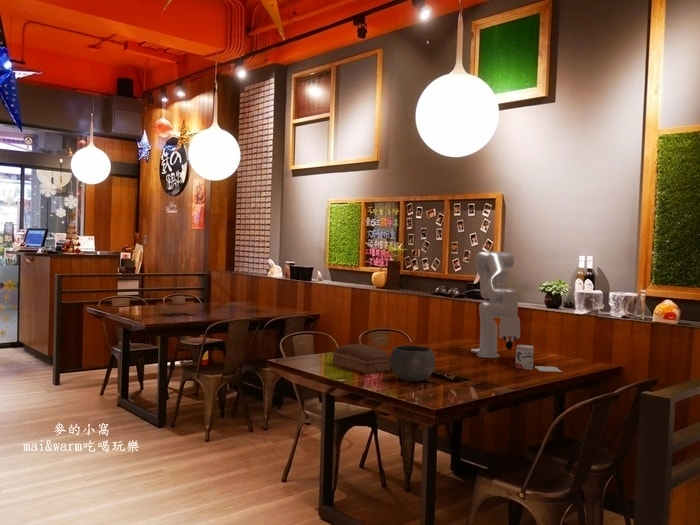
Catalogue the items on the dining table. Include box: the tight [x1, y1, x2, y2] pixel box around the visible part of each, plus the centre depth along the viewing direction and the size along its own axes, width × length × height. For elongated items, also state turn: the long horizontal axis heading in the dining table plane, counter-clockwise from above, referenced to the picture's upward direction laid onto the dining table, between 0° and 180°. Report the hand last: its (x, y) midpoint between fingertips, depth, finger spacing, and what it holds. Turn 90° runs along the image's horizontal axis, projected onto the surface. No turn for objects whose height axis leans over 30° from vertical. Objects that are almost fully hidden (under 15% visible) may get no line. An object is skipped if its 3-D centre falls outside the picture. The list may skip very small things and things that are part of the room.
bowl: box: [389, 344, 436, 383], centre depth 277 cm, size 20×20×15 cm
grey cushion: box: [332, 344, 391, 374], centre depth 306 cm, size 17×29×11 cm, turn 37°
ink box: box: [515, 344, 535, 371], centre depth 312 cm, size 9×5×12 cm, turn 70°
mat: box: [533, 365, 563, 373], centre depth 312 cm, size 11×12×1 cm
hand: (509, 349), depth 313 cm, fingers closed
